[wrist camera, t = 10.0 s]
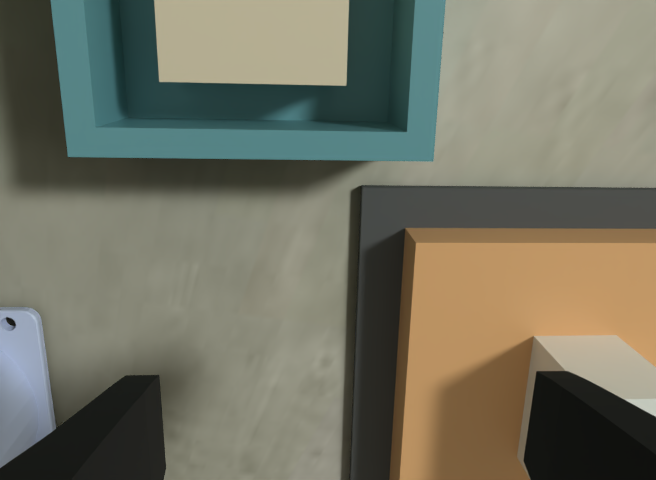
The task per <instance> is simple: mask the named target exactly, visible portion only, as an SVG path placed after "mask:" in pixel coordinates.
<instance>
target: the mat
mask: <svg viewBox="0 0 656 480" xmlns="http://www.w3.org/2000/svg"><path fill="white" fill-rule="evenodd" d="M405 228H564V229H656V188H598V187H487V186H377V185H361V204H360V230H359V255H358V280H357V306H356V331H355V356H354V382H353V407H352V432H351V458H350V480H389V478H390V462H391V446H392V431H393V415H394V399H395V383H396V367H397V351H398V335H399V320H400V304H401V288H402V272H403V256H404V240H405Z"/></svg>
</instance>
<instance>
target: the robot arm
mask: <svg viewBox="0 0 656 480" xmlns="http://www.w3.org/2000/svg"><path fill="white" fill-rule="evenodd" d="M6 317H9V318H12V319H13V320H14V321H15V323H16V326H12V325H10V324H8V323H7V321H6ZM523 461H524V464H525V466H526V469H527V471H528V474H529V477H530V479H531V480H656V417H655V416H654V415H652V414H650V413H648V412H646V411H644V410H642V409H641V408H639V407H637V406H635V405H633V404H631V403H630V402H628V401H626V400H624V399H622V398H620V397H619V396H617V395H615V394H613V393H611V392H609V391H608V390H606V389H604V388H602V387H600V386H598V385H596V384H594V383H592V382H590V381H588V380H586V379H584V378H582V377H580V376H578V375H576V374H573V373H571V372H569V371H536V377H535V384H534V391H533V398H532V404H531V411H530V418H529V425H528V432H527V439H526V446H525V453H524V460H523ZM165 470H166V462H165V448H164V434H163V420H162V407H161V393H160V379H159V375H133V376H125V377H123V378H122V379H120V380H119V381H117V382H116V383H115V384H113V385H112V386H111V387H109V388H108V389H107V390H106V391H104V392H103V393H102V394H100V395H99V396H98V397H97V398H95V399H94V400H93V401H92V402H90V403H89V404H88V405H86V406H85V407H84V408H83V409H81V410H80V411H79V412H77V413H76V414H75V415H73V416H72V417H71V418H70V419H68V420H67V421H66V422H64V423H63V424H62V425H60V426H59V427H58V428H56V424H55V416H54V409H53V402H52V394H51V387H50V379H49V372H48V365H47V357H46V350H45V342H44V335H43V328H42V320H41V317H40V315H39V314H38V312H37V311H35V310H34V309H32V308H28V307H0V480H164V475H165Z"/></svg>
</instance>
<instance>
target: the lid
mask: <svg viewBox="0 0 656 480" xmlns="http://www.w3.org/2000/svg"><path fill="white" fill-rule="evenodd" d="M536 371H569V372H571V373H573V374H576V375H578V376H580V377H582V378H584V379H586V380H588V381H590V382H592V383H594V384H596V385H598V386H600V387H602V388H604V389H606V390H608V391H609V392H611V393H613V394H615V395H617V396H619V397H620V398H622V399H624V400H626V401H628V402H630V403H631V404H633V405H635V406H637V407H639V408H641V409H642V410H644V411H646V412H648V413H650V414H652V415H654V416H655V417H656V229H564V228H405V240H404V256H403V272H402V288H401V304H400V320H399V335H398V351H397V367H396V383H395V399H394V415H393V431H392V446H391V462H390V478H389V480H531V479H530V477H529V474H528V471H527V469H526V466H525V464H524V461H523V460H524V453H525V446H526V439H527V432H528V425H529V418H530V411H531V404H532V398H533V391H534V384H535V377H536Z"/></svg>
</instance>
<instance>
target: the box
mask: <svg viewBox="0 0 656 480" xmlns="http://www.w3.org/2000/svg"><path fill="white" fill-rule="evenodd" d="M51 9H52V18H53V27H54V36H55V45H56V54H57V63H58V72H59V81H60V90H61V99H62V108H63V117H64V126H65V135H66V144H67V153H68V157H108V158H191V159H275V160H358V161H433V159H434V146H435V132H436V119H437V106H438V93H439V80H440V66H441V53H442V40H443V27H444V14H445V0H51Z"/></svg>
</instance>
